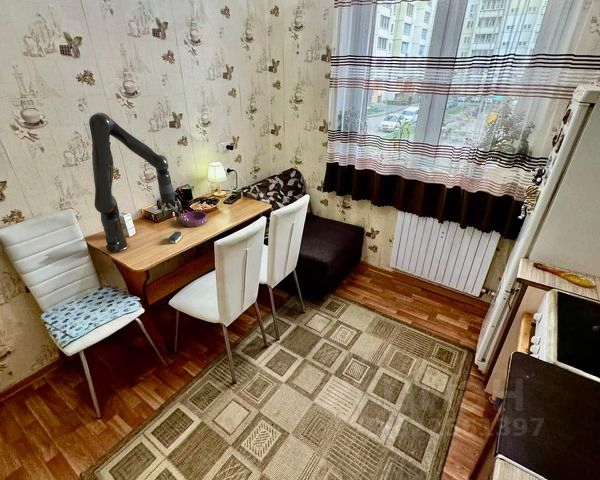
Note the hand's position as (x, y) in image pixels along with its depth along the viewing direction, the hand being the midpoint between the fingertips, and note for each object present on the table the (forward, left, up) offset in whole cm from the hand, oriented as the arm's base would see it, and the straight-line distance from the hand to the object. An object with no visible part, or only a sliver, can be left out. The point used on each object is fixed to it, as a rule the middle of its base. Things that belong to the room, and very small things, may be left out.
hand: (171, 216), depth 184 cm
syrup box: (+2, +33, -16) cm, 37 cm away
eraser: (0, 0, -16) cm, 16 cm away
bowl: (+27, 0, -16) cm, 31 cm away
